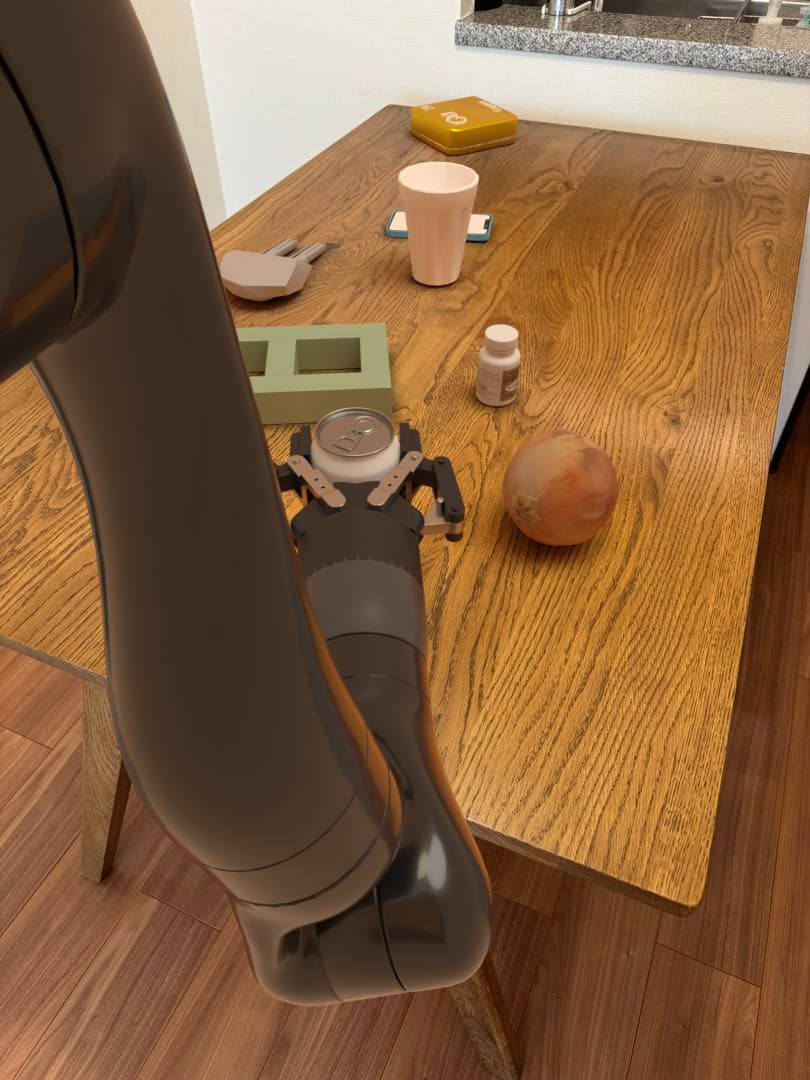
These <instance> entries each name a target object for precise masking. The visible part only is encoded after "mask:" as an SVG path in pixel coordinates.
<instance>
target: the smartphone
mask: <svg viewBox="0 0 810 1080" xmlns="http://www.w3.org/2000/svg"><path fill="white" fill-rule="evenodd" d="M493 217H494V216H493V215H492V214H490V213H476V212H472V213H471V218H470V223H469V228H468V232H467V237H466V241H480V242H485V241H488V240H489V239H490V235H491V230H492V225H493ZM385 229H386V236H388V237H390V238H407V239H408V233H407V225H406V217H405V210H404V209H403V210H399V209H398V210H395V211H393V212H392V214H391V216H390V218H389V221H388V223H387V225H386V228H385Z"/></svg>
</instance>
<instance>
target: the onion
mask: <svg viewBox="0 0 810 1080" xmlns="http://www.w3.org/2000/svg"><path fill="white" fill-rule="evenodd" d="M618 482H619V481H618V477H617V473H616V469H615V467H614V464H613V462H612V460H611V459H610V456H609V455H608V453H607V452H606V450H605V449H604V448H603V447H602V446H600V445H599V444H597V442H595V441H593V440H592V439H591V438H589V437H587V436H585V435H583V434H580V433H578V432H575V431H573V430H571V429H565V428H555V429H552V430H549V431H545V432H544V433H541V434H539V435H537V436H534V437H532V438H530V439H529V440H527V441H526V442H524V444H522V445H521V446H520V447H519V449H518V450H517V451H516V452H515V453H514V454H513V456H512V457H511V459H510V461H509V462H508V465H507V467H506V469H505V473H504V475H503V480H502V499H503V502H504V505H505V507H506V510H507V511H508V513H509V515H510V517H511V519H512V521H513V522H514V524H515V526H517V527H518V529H519V530H520V531H521V532H522V533H523V534H524V535H526V536H527V537H529V538H530V539H531V540H533V541H535V542H538V543H541V544H544V545H549V546H553V547H558V546H559V547H560V546H565V547H567V546H568V547H569V546H573V545H578V544H582V543H584V542H587V541H589V540H590V539H592V538H593V537H594V536H596V535H597V534H599V532H600V531H601V530H602V529H603V527H604V526H605V525H606V524H607V522H609V519H610V518H611V516H612V514H613V512H614V509H615V507H616V504H617V501H618V498H619V483H618Z"/></svg>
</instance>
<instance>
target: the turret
mask: <svg viewBox="0 0 810 1080" xmlns="http://www.w3.org/2000/svg"><path fill="white" fill-rule="evenodd" d="M298 244H299V241H298V240H297V239H293V238H283V239H282V240H280V241H277V242H276V243H275V244H273V245H271V246H270V247H268V248H266V249H264V250H262V251H260V252H252V251H245V250H240V249H234V250H231V251H229V252H225V253H224V256H223V258H222V260H221V262H220V265H219V268H220V272H221V276H222V279H223V283H224V287H225V289H227V290H228V291H229V292H230V294H232V295H235V296H237V297H240V298H242V299H244V300H250V301H256V302H265V301H269V300H272V299H274V298H277V297H283V296H284V297H285V296H288V295H291V294H293V293H296V292H298V291H300V290H302V289H303V287H304V285H305V283H306V282H307V279H308V278H309V275H310V273H311V271H312V269H313V267H314V265H312V264H310V262H311V261H313V260H315V259H316V258H318V257H319V256H320V255H321V254H323V253H324V252H326V249H327V244H324V243H321V242H316V241H314V242H312V243H310V244H308V245H307V246H305V247H304V248H302V249H301V250H299V251H297V252H296V253H294V254H292V255H290V256H285V255H286V254H288V253H290V252H291V251H293V250H294V249H295V248H297V247H298Z"/></svg>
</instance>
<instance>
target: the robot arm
mask: <svg viewBox="0 0 810 1080" xmlns="http://www.w3.org/2000/svg"><path fill="white" fill-rule="evenodd" d="M219 267H220V265H219V262H218V258H217V253H216V251H215V247H214V243H213V240H212V236H211V232H210V228H209V224H208V222H207V217H206V214H205V210H204V206H203V202H202V200H201V195H200V193H199V189H198V185H197V182H196V179H195V175H194V172H193V169H192V166H191V162H190V158H189V156H188V152H187V149H186V146H185V143H184V139H183V136H182V133H181V130H180V128H179V124H178V121H177V118H176V115H175V113H174V109H173V105H172V102H171V100H170V97H169V94H168V91H167V88H166V86H165V83H164V80H163V78H162V75H161V72H160V70H159V68H158V65H157V62H156V59H155V56H154V54H153V51H152V49H151V46H150V44H149V40H148V37H147V36H146V33H145V31H144V28H143V26H142V24H141V21H140V18H139V17H138V15H137V12H136V10H135V8H134V5H133V3H132V1H131V0H0V387H1V386H2V385H3V384H5V383H7V382H8V381H9V380H10V379H11V378H12V377H14V376H15V375H16V374H17V373H19V372H20V371H21V370H23V369H24V368H26V367H27V366H28V367H29V369H30V370H31V372H32V373H33V375H34V377H35V379H36V380H37V382H38V383H39V385H40V387H41V389H42V390H43V392H44V394H45V396H46V398H47V401H48V402H49V404H50V406H51V409H52V410H53V413H54V414H55V416H56V419H57V421H58V422H59V425H60V427H61V429H62V432H63V435H64V437H65V439H66V441H67V444H68V447H69V450H70V452H71V454H72V457H73V461H74V463H75V467H76V470H77V473H78V476H79V480H80V483H81V486H82V491H83V494H84V499H85V504H86V508H87V512H88V513H87V514H88V518H89V524H90V528H91V534H92V539H93V544H94V549H95V559H96V567H97V576H98V585H99V593H100V605H101V617H102V618H101V619H102V634H103V649H104V659H105V661H104V662H105V670H106V678H107V690H108V699H109V706H110V707H109V708H110V713H111V719H112V726H113V730H114V731H113V732H114V736H115V740H116V743H117V747H118V751H119V755H120V757H121V759H122V761H123V764H124V767H125V770H126V772H127V775H128V777H129V780H130V782H131V784H132V787H133V790H134V791H135V793H136V795H137V797H138V799H139V800H140V802H141V805H142V806H143V808H144V809H145V810H146V811H147V812H148V814H149V815H150V816H151V818H152V819H153V820H154V822H155V823H156V824H157V825H158V826H159V828H160V829H161V830H162V831H163V832H164V834H165V835H166V837H167V838H168V839H169V840H171V841H172V842H173V843H174V844H175V845H176V846H177V847H178V848H179V849H180V850H181V851H182V852H184V854H185V855H187V856H188V857H189V859H190V860H192V862H194V863H195V864H196V865H197V866H198V867H199V868H200V869H201V870H202V871H203V872H204V873H205V874H206V875H207V876H209V878H210V879H211V880H213V882H215V883H216V884H217V885H218V886H219V887H220V888H221V889H222V890H223V891H224V892H225V894H226V896H227V898H228V901H229V904H230V907H231V910H232V912H233V915H234V918H235V920H236V923H237V925H238V928H239V930H240V934H241V937H242V940H243V943H244V948H245V952H246V956H247V961H248V964H249V967H250V969H251V973H252V975H253V977H254V979H255V981H256V983H257V984H258V986H259V987H260V988H261V990H263V991H264V992H265V993H266V994H268V995H269V996H271V997H273V998H275V999H276V1000H279V1001H281V1002H283V1003H286V1004H290V1005H294V1006H295V1005H296V1006H300V1007H322V1006H329V1005H334V1004H336V1005H337V1004H342V1003H348V1002H354V1001H362V1000H368V999H375V998H382V997H388V996H393V995H394V996H395V995H401V994H407V993H409V992H410V993H416V992H423V991H430V990H437V989H443V988H449V987H453V986H455V985H458V984H461V983H464V982H466V981H467V980H468V979H470V978H471V977H473V976H474V975H475V974H476V972H477V971H478V970H479V969H480V968H481V967H482V965H483V963H484V961H485V960H486V958H487V956H488V954H489V951H490V948H491V945H492V942H493V940H494V934H495V929H496V921H497V918H496V917H497V909H496V908H497V907H496V899H495V894H494V887H493V884H492V881H491V880H492V879H491V877H490V874H489V871H488V869H487V865H486V863H485V861H484V858H483V856H482V853H481V851H480V849H479V847H478V844H477V842H476V840H475V838H474V835H473V833H472V831H471V829H470V827H469V824H468V823H467V820H466V818H465V816H464V813H463V811H462V809H461V807H460V805H459V802H458V801H457V798H456V796H455V793H454V791H453V789H452V786H451V783H450V780H449V778H448V775H447V772H446V770H445V766H444V764H443V760H442V756H441V753H440V748H439V745H438V741H437V736H436V731H435V725H434V715H433V708H432V697H431V690H430V689H431V688H430V678H429V669H428V651H429V626H428V616H427V608H426V597H425V589H424V578H423V571H422V570H423V569H422V559H421V551H420V544H421V543H422V541H423V540H424V537H425V536H432V535H433V536H434V535H442V534H443V535H444V539H445V540H446V541H448V542H450V543H458V542H460V541H462V540H463V538H464V527H465V516H466V506H465V502H464V499H463V497H462V493H461V491H460V487H459V483H458V480H457V478H456V475H455V471H454V468H453V465H452V461H451V459H450V458H449V457H447V456H444V455H439V456H435V457H434V458H433V459H430V458H427V457H425V455H424V454H423V449H422V442H421V433H420V431H419V430H418V429H417V428H411V427H410V422H409V421H404V422H399V423H398V424H399V425H398V426H399V427H398V430H399V431H398V439H399V442H400V445H401V462H400V464H399V465H398V466H397V467H396V466H393V467H392V468H391V470H390V471H389V472H388V474H387V475H386V476H385V478H384V479H383V480H382V482H381V483H380V481H367V482H362V483H357V484H355V483H348V482H333V486H332V484H331V483H330V482H329V481H328V480H327V479H326V477H325V476H324V475H323V474H322V473H321V472H320V470H319V469H315V470H314V469H313V468H312V466H311V458H310V448H311V444H312V441H313V438H312V437H313V436H312V427H311V424H303V425H302V424H301V425H300V426H299V427H300V428H299V432H294V431H293V433H292V434H291V435H290V441H289V457H288V458H287V460H286V462H284V463H282V464H278V463H276V462H274V461H273V457H272V453H271V449H270V446H269V442H268V440H267V435H266V430H265V428H264V424H263V423H262V420H261V416H260V412H259V408H258V405H257V401H256V398H255V394H254V391H253V388H252V384H251V381H250V377H251V376H250V374H249V372H248V370H247V367H246V363H245V360H244V356H243V353H242V350H241V346H240V342H239V339H238V335H237V331H236V328H237V327H236V324H235V320H234V317H233V312H232V309H231V305H230V301H229V298H228V294H227V291H226V287H225V286H224V283H223V279H222V276H221V272H220V268H219ZM423 486H424V487H427V488H428V487H429V488H431V492H432V495H433V499H434V502H433V503H432V504H431V506H430V510H429V512H428V513H426V514H425V515H424V514H423V512H421V511H420V510H419V509H418V508H417V507H415V506H414V505H413V504H412V502H413V499H414V498H415V496H416V495H417V494H418V492H419V491H420V489H421V487H423ZM289 491H290V492H292V493H293V494H294V496H295V497H296V498H297V500H298V501H299V502H300V503H301V505H302V508H301V509H300V510H299V511H298V512H297V513H296V514H295V515H294V516H293V517H292V518H291V520H290V519H288V515H287V512H286V508H285V503H284V500H283V497H282V495H283V493H285V492H286V493H287V492H289Z"/></svg>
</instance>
